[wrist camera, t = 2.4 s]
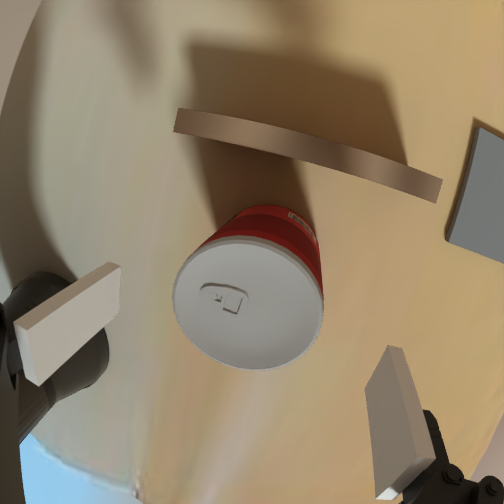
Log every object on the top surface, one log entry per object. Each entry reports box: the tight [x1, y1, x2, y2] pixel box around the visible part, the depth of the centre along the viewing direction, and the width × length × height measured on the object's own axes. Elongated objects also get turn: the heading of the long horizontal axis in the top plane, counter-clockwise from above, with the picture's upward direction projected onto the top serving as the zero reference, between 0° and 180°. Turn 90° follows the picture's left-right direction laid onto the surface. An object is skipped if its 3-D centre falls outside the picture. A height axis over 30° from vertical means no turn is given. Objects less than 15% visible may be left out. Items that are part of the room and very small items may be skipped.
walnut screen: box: [173, 108, 443, 204], centre depth 20 cm, size 16×2×7 cm, turn 77°
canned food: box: [172, 204, 324, 371], centre depth 21 cm, size 8×8×11 cm
